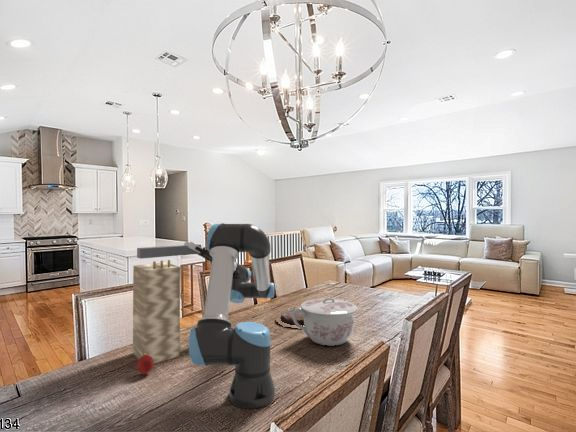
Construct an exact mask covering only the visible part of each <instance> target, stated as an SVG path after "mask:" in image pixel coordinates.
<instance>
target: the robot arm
mask: <svg viewBox="0 0 576 432" xmlns="http://www.w3.org/2000/svg"><path fill="white" fill-rule="evenodd" d="M196 244H197V243H194V242H192V241H188V240H185V242H184V243H183V245H188V247H189V248H191V249H192V250H194V251H196V252H198V253H200V252H201V254H197V255H198V256H200V257H201V258H203V259H205V260H206V261H209V262H210V263H211V264H210V273H209V279H208V283H207V284H208V285H207V288H206V289H207V291H206V297H205V303H204V309H203V316H202V317H201V318H200V319H198V320H197V322H196V323H197V324H196V326H194V327H192V328H190V332H189V336H188V353H189V358H190V361H191V362H192V364H193V365H195V366H205V367H207V366H227V367H228V366H234V375H233V379H232V381H231V385H230V388H229V400H230V402H231V403H232V404H233V405H234V406H236V407H238V408H242V409H248V410H249V409H258V408H263V407H265V406H268V405H269V404H271V403H272V402H273V400H274V399H275V396H276V386H275V383H274V379H273V377H272V374H271V373H272V372H271V345H272V344H271V343H272V342H271V331H270V330H269V328H268V327H267V326H265V325H264V324H262V323H259V322H254V321H244V322H241V321H240V322H239V323H236V324H235V326H234V327H232V322H231V320H230V319H229V311H230V302H231V303H233V304H241V303H244V301H245V299H272V298H274V296H275V284H274V282H271V281H270V280H271V279H270V261H269V260H270V259H269V258H270V257H269V255H270V253H271V249H272V248H271V243H270V240H269V238H268V236H267V234H266V233H265V232H264V231H263V230H262V229H261V228H259V227H258V226H256V225H254V224H252V223H224V222H221V223H215V224H213V225H211V226H210V228H209V229H208V231H207V234H206V244H205V246H206V247H205V246H204V247H202V246H201V247H200V246H198V245H199V244H198V245H196ZM240 253H248V254H249V256H250V257H251V265H252V271H251V270H249V268H247V267H246V266H244V265H241V264H239V263H238V262H236V261H235V260H237V259H238V258H239V256H240ZM252 273H253V274H252ZM252 275H253V282H249V281H250V280H251V277H252ZM270 402H271V403H270Z"/></svg>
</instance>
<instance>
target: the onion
mask: <svg viewBox="0 0 576 432" xmlns="http://www.w3.org/2000/svg"><path fill="white" fill-rule="evenodd" d="M154 365H155V364H154V360H153V358H152V357H151V356H149V355H148V354H146V353H144V354H143V356H142V357H141V358H140V359H138V361H137V363H136V368H137V370H138V372H139V373H140V374H143V375H147V374H148V373H150V372H151V371H152V370H153V369H154Z"/></svg>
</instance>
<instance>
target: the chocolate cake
mask: <svg viewBox="0 0 576 432" xmlns="http://www.w3.org/2000/svg"><path fill="white" fill-rule="evenodd" d="M296 308H298V307H296V306H294V307H291V308H287V309H285V310H283V311H281V312H280V315H281V317H280V319H281V321H282V322H284V323H287V324H290V325H296V324H295V323H294V322H293V319H292V315H293V312H294V310H295V309H296ZM300 308H301V307H300ZM301 309H302V308H301ZM296 321H297V322H298V323H299V325H302V326H303V325H304V318H303V313H302V312H298V313H296Z"/></svg>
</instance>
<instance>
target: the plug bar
mask: <svg viewBox="0 0 576 432" xmlns="http://www.w3.org/2000/svg"><path fill="white" fill-rule="evenodd" d="M195 244H196V245H198V246H200V247H202V244H197V243H195ZM198 254H201V252H200V253H198V252H196V251H194V250H192V249H191V248H189V247H188V245H184V244H182V245H179V244H178V245H167V246H166V245H165V246H164V245H163V246H148V247H147V246H146V247H137V248H136V258H137V259H140V260H141V259H153V258H163V257H176V256H177V257H178V256H188V255H198Z"/></svg>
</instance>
